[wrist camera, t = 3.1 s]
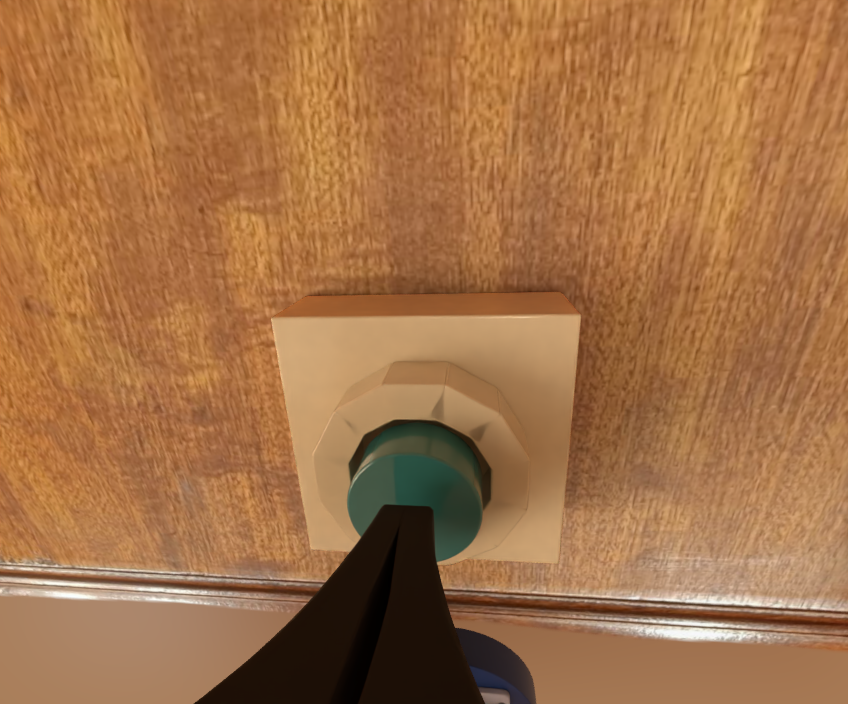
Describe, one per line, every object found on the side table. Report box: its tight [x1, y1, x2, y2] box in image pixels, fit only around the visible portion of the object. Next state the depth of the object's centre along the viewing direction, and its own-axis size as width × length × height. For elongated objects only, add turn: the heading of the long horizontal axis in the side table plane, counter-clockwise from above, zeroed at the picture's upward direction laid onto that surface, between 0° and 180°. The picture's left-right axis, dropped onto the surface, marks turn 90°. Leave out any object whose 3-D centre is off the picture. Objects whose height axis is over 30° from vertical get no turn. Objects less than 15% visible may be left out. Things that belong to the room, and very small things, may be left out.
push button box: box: [271, 292, 581, 565], centre depth 16 cm, size 10×10×5 cm
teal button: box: [347, 422, 483, 562], centre depth 13 cm, size 4×4×2 cm
